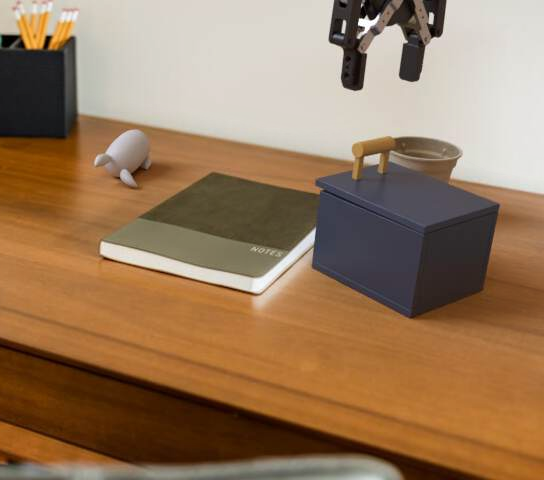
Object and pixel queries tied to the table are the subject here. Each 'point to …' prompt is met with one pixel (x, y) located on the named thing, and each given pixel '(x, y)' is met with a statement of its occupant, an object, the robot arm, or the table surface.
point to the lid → (404, 191)
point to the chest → (400, 256)
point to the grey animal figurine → (126, 156)
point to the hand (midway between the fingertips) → (381, 84)
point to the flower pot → (426, 156)
